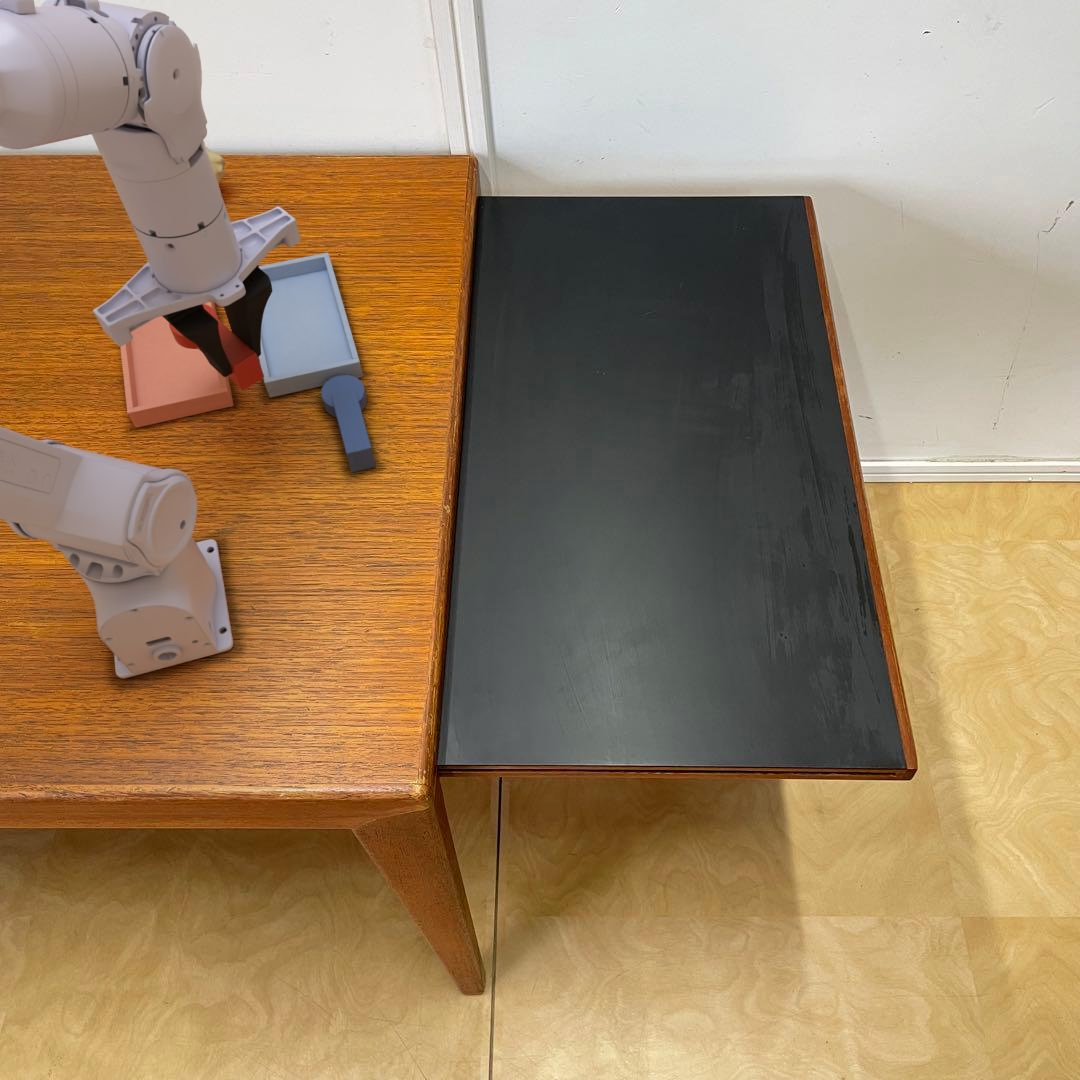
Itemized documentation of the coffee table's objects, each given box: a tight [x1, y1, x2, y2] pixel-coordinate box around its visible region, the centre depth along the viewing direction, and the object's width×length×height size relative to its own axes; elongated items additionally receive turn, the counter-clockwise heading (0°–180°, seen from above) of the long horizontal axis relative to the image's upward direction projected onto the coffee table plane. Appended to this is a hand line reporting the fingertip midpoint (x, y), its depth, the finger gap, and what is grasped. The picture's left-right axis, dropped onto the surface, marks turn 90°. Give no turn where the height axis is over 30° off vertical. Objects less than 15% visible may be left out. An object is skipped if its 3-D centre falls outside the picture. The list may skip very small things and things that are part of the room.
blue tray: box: [258, 252, 364, 398], centre depth 81 cm, size 14×8×2 cm, turn 18°
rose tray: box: [119, 301, 235, 429], centre depth 79 cm, size 14×8×2 cm, turn 18°
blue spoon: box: [320, 375, 377, 473], centre depth 75 cm, size 9×4×3 cm, turn 18°
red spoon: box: [169, 304, 264, 391], centre depth 70 cm, size 9×4×3 cm, turn 45°
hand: (235, 359), depth 68 cm, fingers closed on red spoon, 2 cm apart
